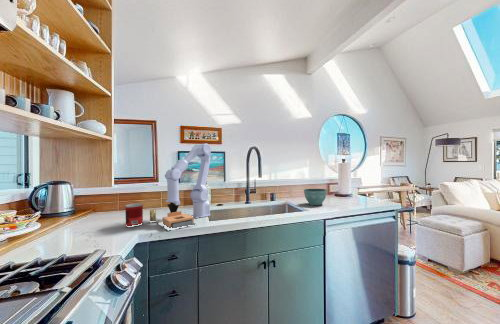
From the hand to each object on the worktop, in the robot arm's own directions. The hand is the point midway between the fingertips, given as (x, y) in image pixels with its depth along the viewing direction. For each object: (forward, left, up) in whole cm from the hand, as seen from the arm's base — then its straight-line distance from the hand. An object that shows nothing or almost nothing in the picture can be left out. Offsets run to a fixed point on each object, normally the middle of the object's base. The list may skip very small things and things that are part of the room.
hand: (173, 216), depth 114 cm
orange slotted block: (0, +6, -2) cm, 7 cm away
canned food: (+17, -10, -4) cm, 20 cm away
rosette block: (0, +4, -3) cm, 5 cm away
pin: (+8, -10, -3) cm, 13 cm away
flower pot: (-96, +24, -4) cm, 99 cm away
